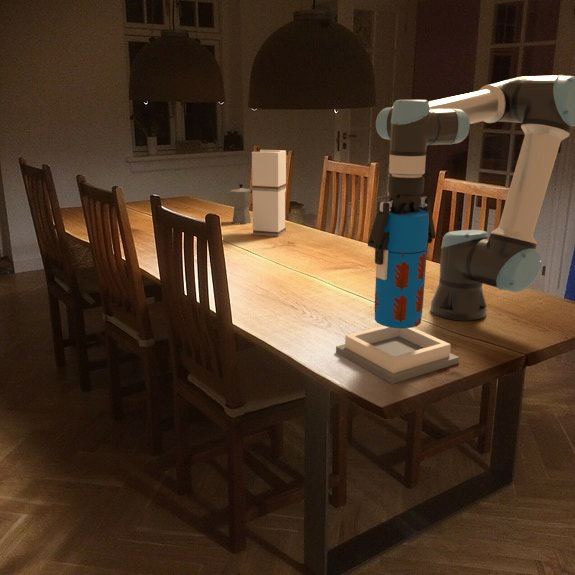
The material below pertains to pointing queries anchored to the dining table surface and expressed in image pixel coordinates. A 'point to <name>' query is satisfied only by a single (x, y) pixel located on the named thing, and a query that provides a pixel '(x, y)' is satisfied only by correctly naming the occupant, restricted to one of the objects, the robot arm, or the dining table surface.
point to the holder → (397, 352)
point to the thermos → (403, 271)
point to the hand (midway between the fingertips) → (400, 274)
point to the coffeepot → (241, 204)
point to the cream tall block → (269, 192)
